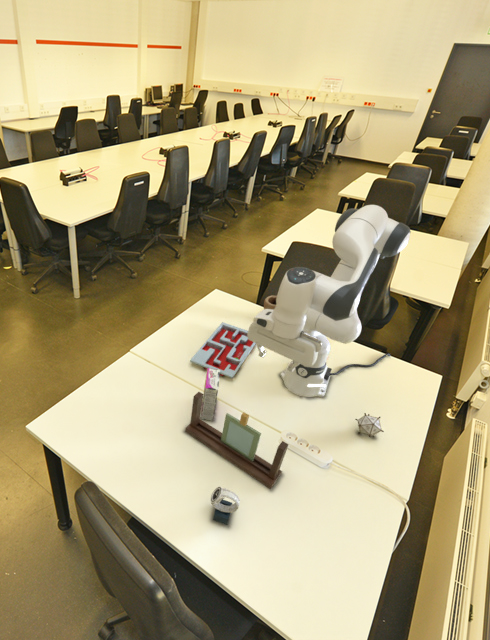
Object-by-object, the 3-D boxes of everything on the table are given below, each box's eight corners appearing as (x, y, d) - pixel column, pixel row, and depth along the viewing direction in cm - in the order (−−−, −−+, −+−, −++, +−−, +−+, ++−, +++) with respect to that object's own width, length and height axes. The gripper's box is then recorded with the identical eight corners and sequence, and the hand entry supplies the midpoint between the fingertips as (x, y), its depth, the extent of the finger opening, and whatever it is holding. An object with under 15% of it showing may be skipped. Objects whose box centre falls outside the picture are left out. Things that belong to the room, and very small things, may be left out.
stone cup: (256, 325, 197) (261, 299, 188) (261, 314, 206) (267, 289, 197) (286, 333, 192) (293, 307, 183) (290, 321, 201) (298, 296, 192)
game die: (364, 436, 146) (387, 420, 142) (370, 448, 138) (394, 430, 134) (346, 420, 146) (368, 403, 143) (350, 430, 138) (373, 412, 135)
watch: (210, 501, 119) (215, 480, 113) (236, 510, 117) (242, 489, 111) (206, 517, 115) (210, 496, 109) (233, 527, 113) (239, 506, 107)
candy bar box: (202, 398, 155) (207, 367, 145) (215, 400, 154) (220, 369, 144) (200, 419, 146) (204, 387, 136) (213, 421, 145) (218, 389, 136)
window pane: (222, 440, 136) (229, 403, 125) (253, 460, 129) (264, 424, 119) (219, 442, 135) (227, 406, 124) (251, 463, 128) (262, 426, 118)
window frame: (196, 420, 145) (201, 387, 135) (280, 474, 128) (293, 441, 118) (185, 431, 141) (188, 398, 131) (270, 489, 123) (282, 455, 113)
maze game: (221, 327, 195) (222, 322, 193) (259, 340, 187) (260, 335, 185) (189, 365, 171) (190, 360, 169) (231, 382, 163) (232, 376, 161)
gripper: (328, 335, 104) (314, 373, 112) (259, 306, 115) (251, 344, 123) (319, 345, 100) (305, 384, 109) (248, 315, 111) (241, 353, 119)
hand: (276, 362), depth 116 cm, fingers open, 8 cm apart
